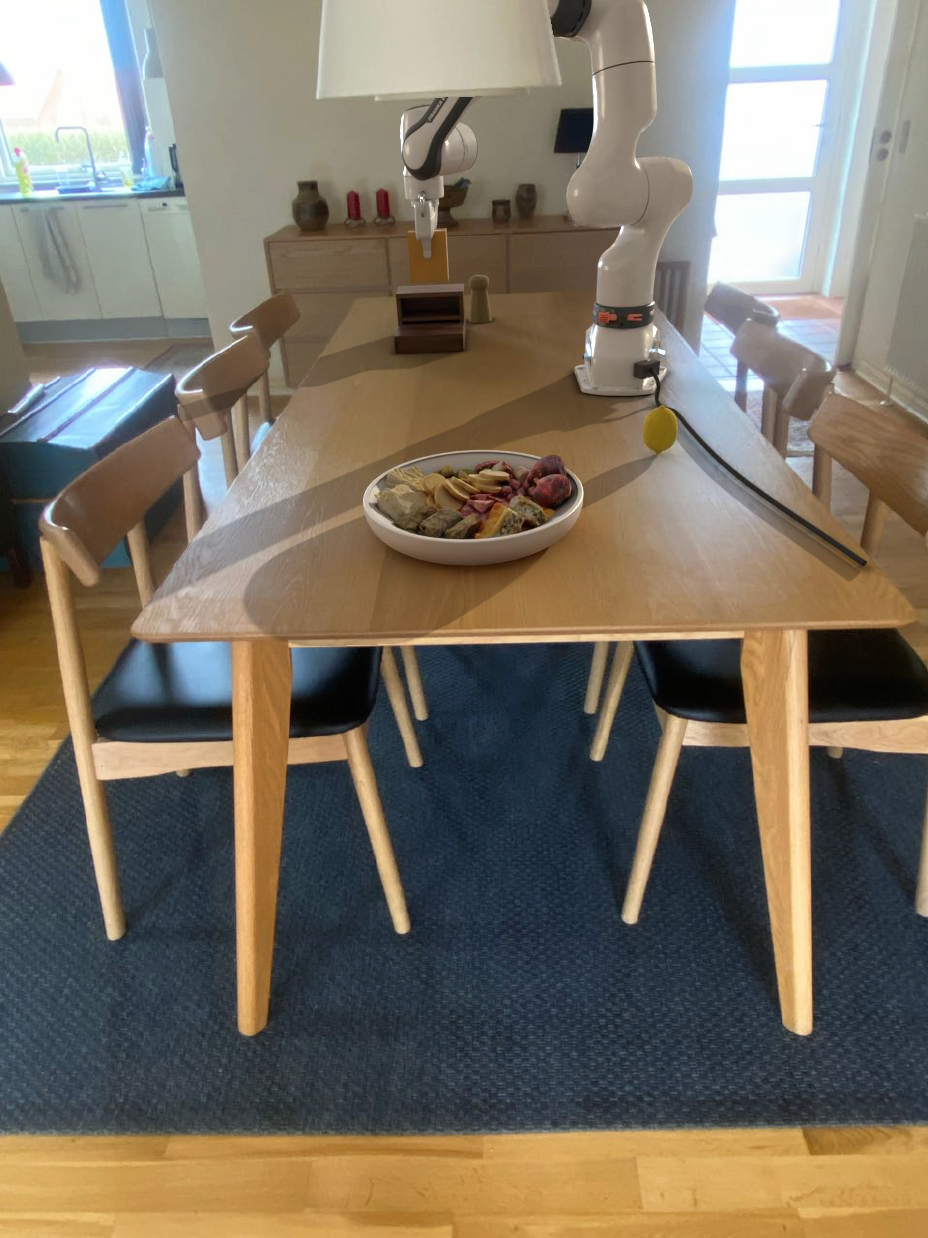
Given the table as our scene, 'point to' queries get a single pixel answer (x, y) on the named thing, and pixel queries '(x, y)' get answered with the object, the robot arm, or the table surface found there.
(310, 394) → the table surface
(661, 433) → the lemon
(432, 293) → the wooden l-shaped block
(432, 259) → the book
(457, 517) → the bowl
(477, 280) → the tan pawn game piece
